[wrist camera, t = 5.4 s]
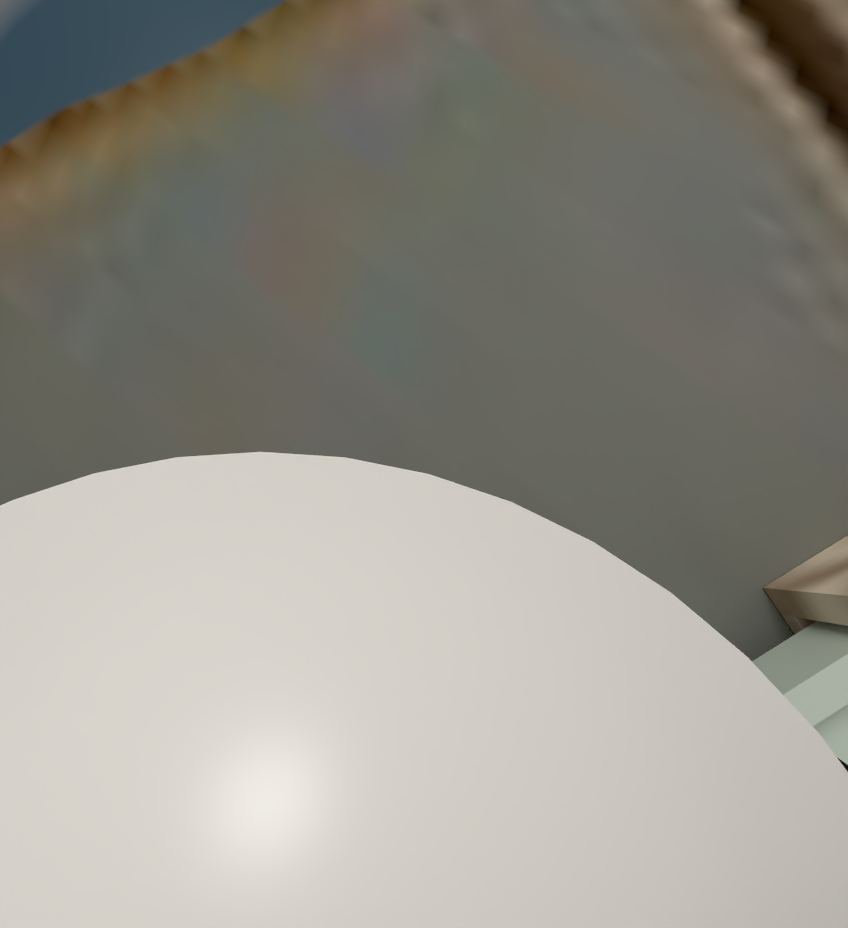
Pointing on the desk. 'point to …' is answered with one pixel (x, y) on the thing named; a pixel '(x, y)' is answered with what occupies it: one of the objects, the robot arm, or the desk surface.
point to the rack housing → (814, 589)
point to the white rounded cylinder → (380, 718)
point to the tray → (815, 679)
